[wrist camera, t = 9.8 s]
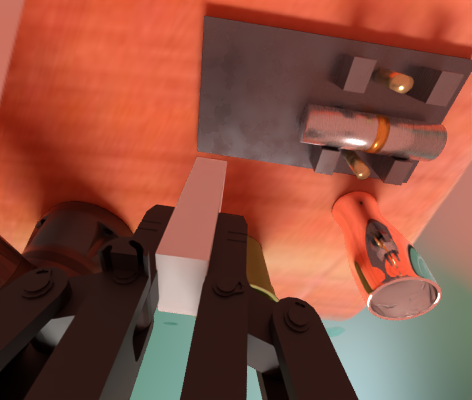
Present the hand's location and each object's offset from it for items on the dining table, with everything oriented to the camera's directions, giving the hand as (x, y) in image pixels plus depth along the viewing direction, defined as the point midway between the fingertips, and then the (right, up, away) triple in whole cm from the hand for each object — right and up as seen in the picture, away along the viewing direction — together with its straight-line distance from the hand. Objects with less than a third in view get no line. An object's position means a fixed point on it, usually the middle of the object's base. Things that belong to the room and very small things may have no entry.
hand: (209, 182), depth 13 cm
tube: (+16, +8, +16) cm, 24 cm away
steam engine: (+11, +10, +17) cm, 22 cm away
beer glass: (+18, -2, +24) cm, 30 cm away
